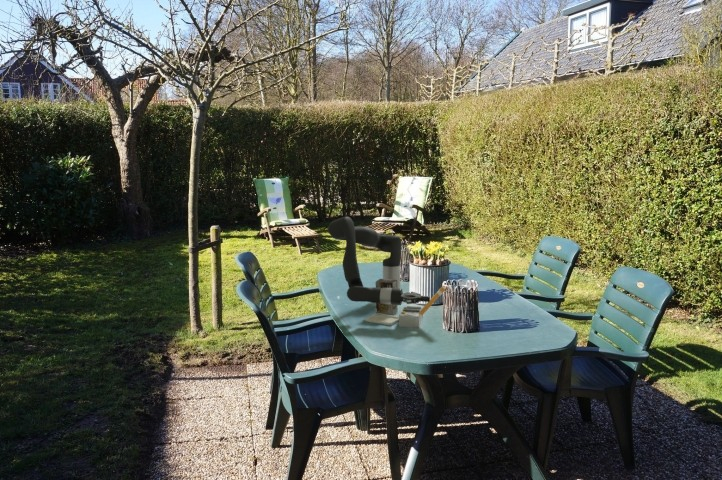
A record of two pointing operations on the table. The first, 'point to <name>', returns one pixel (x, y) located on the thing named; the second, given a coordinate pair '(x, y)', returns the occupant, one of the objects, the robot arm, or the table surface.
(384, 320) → the white shallow tray
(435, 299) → the lever
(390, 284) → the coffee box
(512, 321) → the table surface
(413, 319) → the silver box
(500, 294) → the table surface
